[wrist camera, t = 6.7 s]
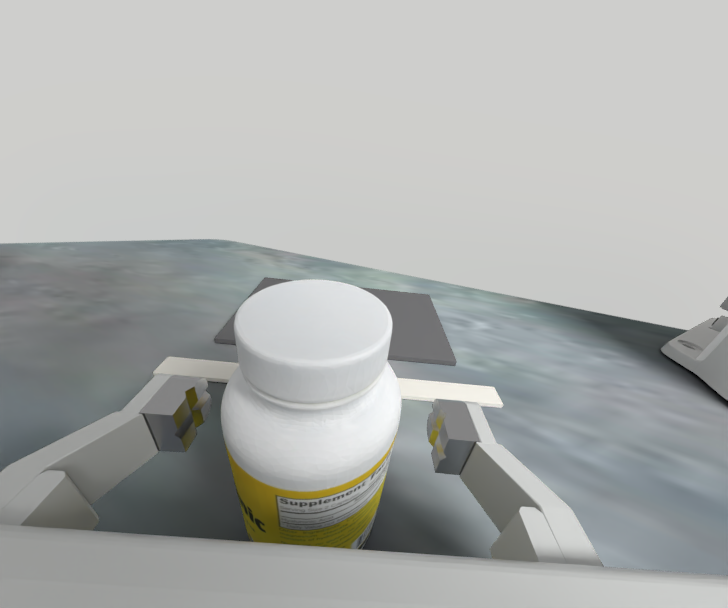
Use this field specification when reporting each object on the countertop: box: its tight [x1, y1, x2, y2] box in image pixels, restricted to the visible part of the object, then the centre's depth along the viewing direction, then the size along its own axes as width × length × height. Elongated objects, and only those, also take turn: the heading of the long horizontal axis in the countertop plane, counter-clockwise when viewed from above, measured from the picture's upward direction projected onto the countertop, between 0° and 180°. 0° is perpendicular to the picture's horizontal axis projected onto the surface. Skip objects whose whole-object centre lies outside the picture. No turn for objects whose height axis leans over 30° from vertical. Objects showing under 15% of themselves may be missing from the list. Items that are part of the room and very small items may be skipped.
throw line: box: [153, 356, 503, 408], centre depth 18 cm, size 22×2×1 cm, turn 89°
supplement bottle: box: [221, 279, 401, 550], centre depth 10 cm, size 5×5×10 cm
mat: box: [215, 278, 456, 366], centre depth 25 cm, size 18×11×1 cm, turn 89°
